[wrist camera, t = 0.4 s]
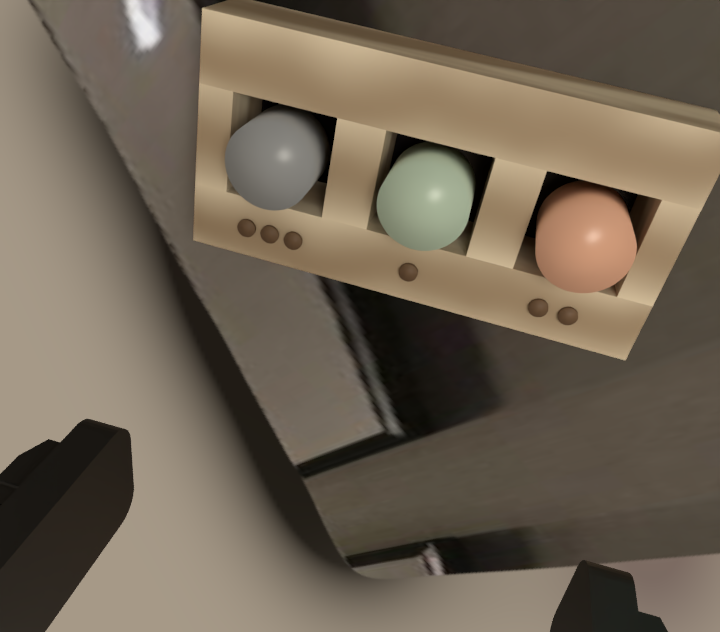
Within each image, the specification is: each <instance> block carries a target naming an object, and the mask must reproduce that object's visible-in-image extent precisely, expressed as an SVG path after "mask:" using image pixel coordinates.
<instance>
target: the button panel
mask: <svg viewBox="0 0 720 632" xmlns="http://www.w3.org/2000/svg"><path fill="white" fill-rule="evenodd" d="M263 99H264V100H268V101H272V102H276V103H280V104H284V105H288V106H292V107H296V108H300V109H304V110H308V111H312V112H316V113H320V114H323V115H327V116H331V117H335V118H337V124H336V130H335V136H334V143H333V149H332V155H331V162H330V168H329V175H328V181H327V183H323V182H319V181H317V182H316V183H315V184H314V185H313V186H312V188H311V189H310V190H309V191H308V192H307V194H306V195H305V196H304V197H303V198H302V199H301V200H300V201H299V202H298V203H297V204H296V205H294V206H292V207H290V208H287V209H284V210H276V211H273V210H266V209H262V208H259V207H257V206H254V205H252V204H251V203H249V202H248V201H246V200H245V199H244V198H243V197H242V196H241V195H240V194H239V193H238V192H237V191H236V190H235V188H234V187H233V185H232V184H231V182H230V180H229V178H228V175H227V172H226V167H225V151H226V147H227V144H228V142H229V140H230V138H231V137H232V135H233V134H234V133H235V132H236V131H237V130H238V129H240V128H241V127H242V126H244V125H245V124H246V123H248V122H249V121H251V120H252V119H253V118H255V117H256V116H257V115H259V114H260V113H261V111H262V100H263ZM397 133H399V134H403V135H407V136H411V137H415V138H419V139H422V140H426V141H430V142H434V143H438V144H442V145H446V146H450V147H454V148H458V149H462V150H466V151H470V152H474V153H478V154H482V155H486V156H490V157H493V160H492V163H491V166H490V170H489V173H488V176H487V180H486V183H485V186H484V190H483V193H482V196H481V200H480V203H479V206H478V210H477V213H476V216H475V220H474V222H471V221H468V222H467V225H466V227H465V229H464V231H463V232H462V233H461V235H460V236H459V237H458V238H457V239H456V240H455V241H453V242H452V243H451V244H449V245H447V246H445V247H443V248H440V249H437V250H431V251H419V250H414V249H410V248H407V247H405V246H403V245H401V244H399V243H398V242H396V241H395V240H394V239H392V238H391V237H390V236H389V235H388V234H387V232H386V231H385V230H384V228H383V226H382V225H381V222H380V220H379V217H378V213H377V196H378V193H379V190H380V188H381V185H382V184H383V182H384V180H385V179H386V177H387V175H388V174H389V170H390V166H391V161H392V156H393V151H394V147H395V142H396V137H397ZM547 171H549V172H553V173H557V174H561V175H565V176H569V177H573V178H577V179H581V180H585V181H589V182H593V183H597V184H601V185H605V186H609V187H613V188H617V189H620V190H624V191H628V192H632V193H636V194H638V195H637V198H636V200H635V202H634V204H633V207H632V209H631V211H630V214H629V216H630V219H631V223H632V227H633V230H634V234H635V238H636V243H637V251H636V257H635V260H634V263H633V265H632V267H631V268H630V270H629V271H628V273H627V274H626V275H625V276H624V277H623V278H622V279H621V280H620V281H618V282H617V283H616V284H614V285H612V286H611V287H609V288H607V289H604V290H601V291H597V292H593V293H574V292H569V291H566V290H563V289H561V288H558V287H557V286H555V285H553V284H552V283H551V282H549V281H548V280H547V279H546V278H545V277H544V275H543V274H542V272H541V271H540V269H539V267H538V264H537V261H536V255H535V247H536V239H535V238H532V237H528V236H524V235H525V232H526V230H527V227H528V224H529V221H530V218H531V215H532V213H533V210H534V207H535V204H536V201H537V198H538V195H539V193H540V190H541V187H542V184H543V181H544V178H545V175H546V173H547ZM719 174H720V114H719V113H718V112H717V111H716V110H713V109H709V108H705V107H700V106H696V105H692V104H688V103H684V102H679V101H675V100H671V99H667V98H663V97H658V96H654V95H650V94H646V93H641V92H637V91H633V90H629V89H625V88H620V87H616V86H612V85H608V84H603V83H599V82H595V81H591V80H587V79H582V78H578V77H574V76H570V75H566V74H561V73H557V72H553V71H549V70H544V69H540V68H536V67H532V66H528V65H523V64H519V63H515V62H511V61H506V60H502V59H498V58H494V57H490V56H485V55H481V54H477V53H473V52H469V51H464V50H460V49H456V48H452V47H447V46H443V45H439V44H435V43H431V42H426V41H422V40H418V39H414V38H410V37H405V36H401V35H397V34H393V33H388V32H384V31H380V30H376V29H372V28H367V27H363V26H359V25H355V24H350V23H346V22H342V21H338V20H334V19H329V18H325V17H321V16H317V15H313V14H308V13H304V12H300V11H296V10H291V9H287V8H283V7H279V6H275V5H270V4H266V3H262V2H258V1H253V0H227V1H224V2H221V3H217V4H214V5H211V6H207V7H204V8H202V26H201V52H200V77H199V103H198V128H197V154H196V179H195V205H194V230H193V240H194V241H198V242H202V243H205V244H209V245H212V246H216V247H220V248H223V249H227V250H230V251H234V252H237V253H241V254H245V255H248V256H252V257H255V258H259V259H263V260H266V261H270V262H273V263H277V264H281V265H284V266H288V267H291V268H295V269H299V270H302V271H306V272H309V273H313V274H317V275H320V276H324V277H327V278H331V279H335V280H338V281H342V282H345V283H349V284H353V285H356V286H360V287H363V288H367V289H371V290H374V291H378V292H381V293H385V294H389V295H392V296H396V297H399V298H403V299H407V300H410V301H414V302H417V303H421V304H424V305H428V306H432V307H435V308H439V309H442V310H446V311H450V312H453V313H457V314H460V315H464V316H468V317H471V318H475V319H478V320H482V321H486V322H489V323H493V324H496V325H500V326H504V327H507V328H511V329H514V330H518V331H522V332H525V333H529V334H532V335H536V336H540V337H543V338H547V339H550V340H554V341H558V342H561V343H565V344H568V345H572V346H576V347H579V348H583V349H586V350H590V351H593V352H597V353H601V354H604V355H608V356H611V357H615V358H619V359H622V360H626V358H627V356H628V354H629V352H630V350H631V348H632V346H633V344H634V342H635V340H636V338H637V336H638V334H639V332H640V330H641V328H642V326H643V324H644V322H645V320H646V318H647V316H648V314H649V312H650V311H651V309H652V307H653V305H654V303H655V301H656V299H657V297H658V295H659V293H660V291H661V289H662V287H663V285H664V283H665V281H666V279H667V277H668V275H669V273H670V271H671V269H672V267H673V265H674V263H675V261H676V259H677V257H678V255H679V253H680V251H681V249H682V247H683V245H684V243H685V241H686V239H687V237H688V235H689V233H690V231H691V229H692V227H693V225H694V223H695V221H696V219H697V217H698V215H699V213H700V211H701V210H702V208H703V206H704V204H705V202H706V200H707V198H708V196H709V194H710V192H711V190H712V188H713V186H714V184H715V182H716V180H717V178H718V176H719Z"/></svg>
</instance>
